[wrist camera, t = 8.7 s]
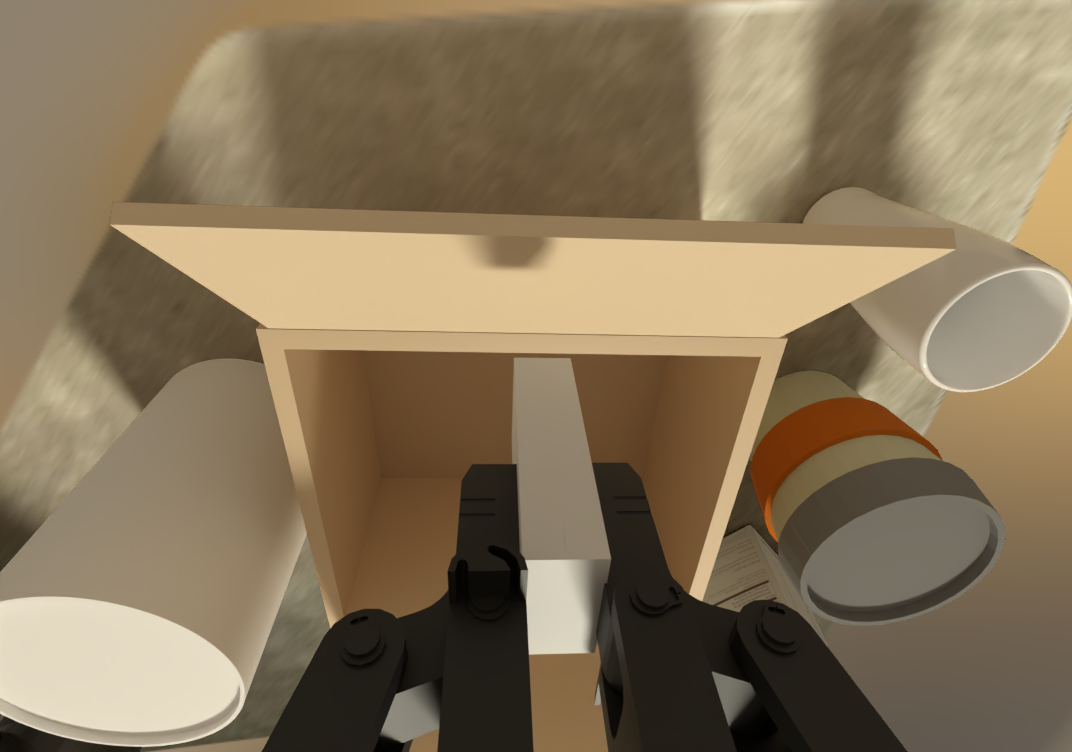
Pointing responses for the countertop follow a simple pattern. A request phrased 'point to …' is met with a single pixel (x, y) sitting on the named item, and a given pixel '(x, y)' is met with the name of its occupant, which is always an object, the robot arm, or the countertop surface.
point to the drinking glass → (958, 299)
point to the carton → (498, 440)
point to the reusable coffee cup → (866, 506)
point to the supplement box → (752, 576)
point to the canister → (157, 571)
